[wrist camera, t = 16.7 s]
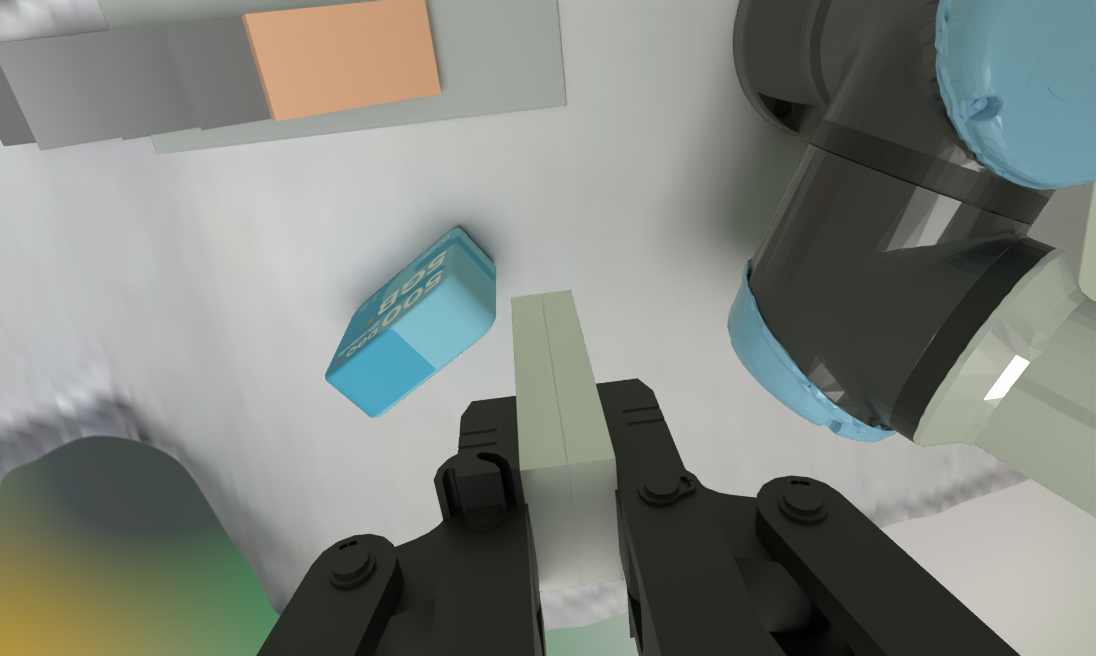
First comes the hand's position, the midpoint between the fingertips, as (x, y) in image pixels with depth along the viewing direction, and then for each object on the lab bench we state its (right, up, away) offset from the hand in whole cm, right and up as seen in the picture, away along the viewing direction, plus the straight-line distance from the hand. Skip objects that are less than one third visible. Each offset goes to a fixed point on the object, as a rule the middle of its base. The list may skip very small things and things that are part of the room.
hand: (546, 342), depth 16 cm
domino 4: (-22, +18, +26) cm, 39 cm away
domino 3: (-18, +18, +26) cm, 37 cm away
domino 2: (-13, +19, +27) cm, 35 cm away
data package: (-10, +4, +36) cm, 38 cm away
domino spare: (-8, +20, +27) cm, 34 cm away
